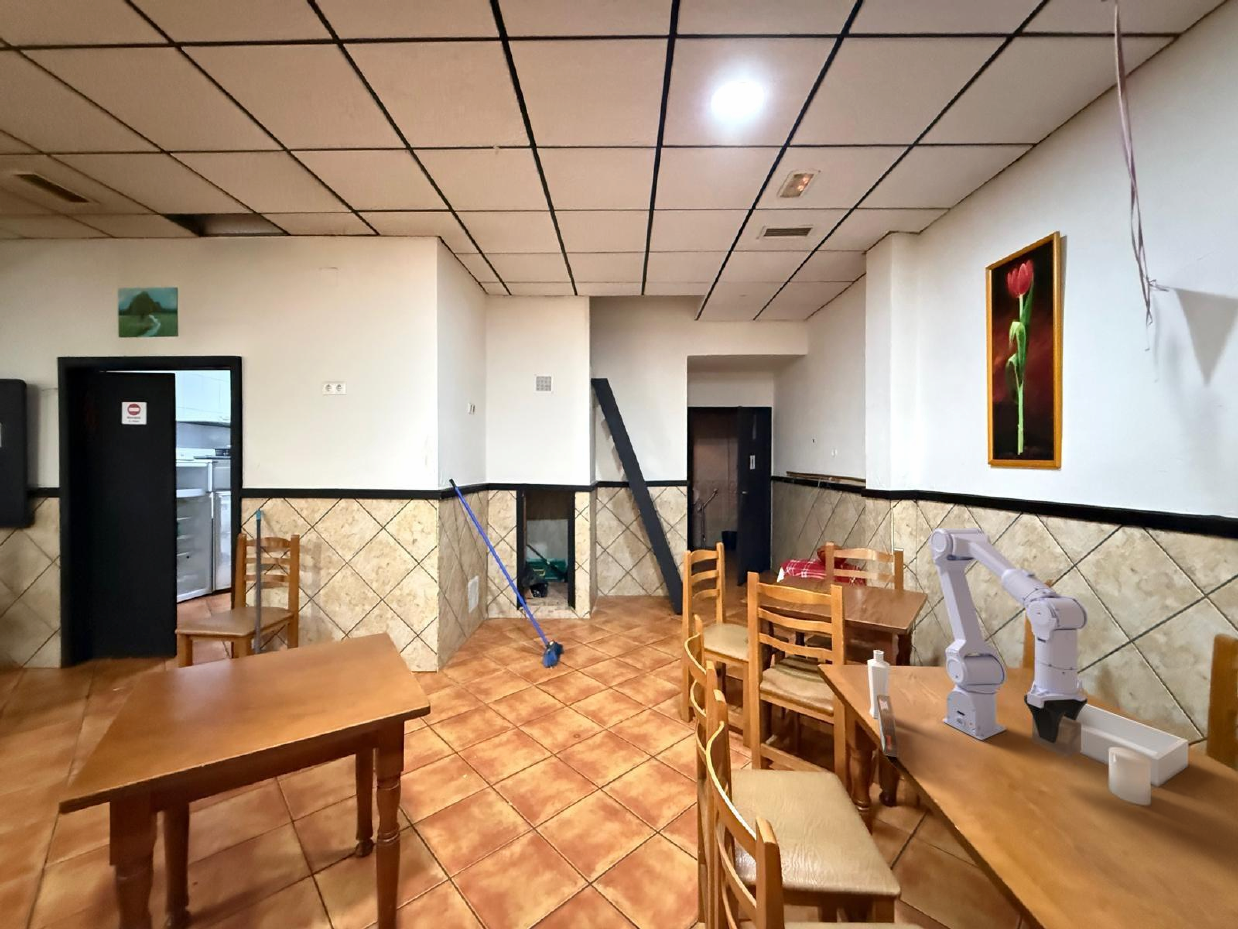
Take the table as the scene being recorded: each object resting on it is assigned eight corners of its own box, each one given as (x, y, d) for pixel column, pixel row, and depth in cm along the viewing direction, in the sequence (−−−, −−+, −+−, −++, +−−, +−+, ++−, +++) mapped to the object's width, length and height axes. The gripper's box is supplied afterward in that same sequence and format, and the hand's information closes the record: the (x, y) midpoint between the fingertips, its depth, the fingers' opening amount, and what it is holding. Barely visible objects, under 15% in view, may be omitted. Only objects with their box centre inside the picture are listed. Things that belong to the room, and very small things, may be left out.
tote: (1157, 787, 84) (1157, 759, 84) (1037, 734, 100) (1037, 711, 100) (1188, 766, 89) (1188, 740, 89) (1070, 719, 105) (1070, 697, 105)
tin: (899, 767, 90) (899, 724, 90) (881, 763, 91) (881, 721, 91) (891, 726, 104) (891, 689, 103) (875, 723, 105) (875, 686, 105)
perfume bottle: (870, 708, 111) (870, 646, 111) (891, 715, 108) (891, 651, 108) (864, 715, 108) (864, 651, 108) (885, 723, 105) (885, 657, 105)
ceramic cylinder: (1143, 809, 79) (1143, 768, 79) (1103, 789, 83) (1103, 751, 83) (1156, 799, 81) (1156, 760, 81) (1116, 781, 85) (1116, 744, 85)
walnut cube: (1066, 758, 82) (1067, 730, 82) (1032, 742, 86) (1032, 715, 86) (1080, 750, 84) (1081, 723, 84) (1046, 735, 88) (1046, 709, 88)
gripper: (1063, 680, 78) (1062, 759, 79) (1104, 664, 84) (1103, 737, 84) (1013, 663, 85) (1013, 736, 85) (1055, 649, 91) (1054, 717, 91)
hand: (1055, 735), depth 85 cm, fingers closed on walnut cube, 5 cm apart
